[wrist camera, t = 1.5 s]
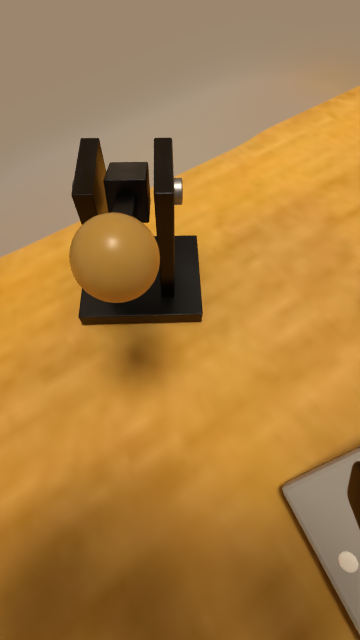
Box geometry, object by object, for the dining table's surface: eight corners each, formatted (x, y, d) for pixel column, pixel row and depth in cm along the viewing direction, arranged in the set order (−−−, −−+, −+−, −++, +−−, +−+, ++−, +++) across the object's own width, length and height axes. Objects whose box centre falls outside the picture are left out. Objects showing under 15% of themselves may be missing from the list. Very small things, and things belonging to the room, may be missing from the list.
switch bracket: (201, 321, 25) (217, 216, 15) (82, 324, 25) (23, 219, 15) (195, 244, 28) (206, 119, 19) (91, 246, 28) (47, 120, 18)
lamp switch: (161, 319, 13) (157, 240, 11) (72, 322, 13) (48, 242, 11) (162, 211, 21) (159, 150, 18) (105, 212, 21) (95, 150, 18)
